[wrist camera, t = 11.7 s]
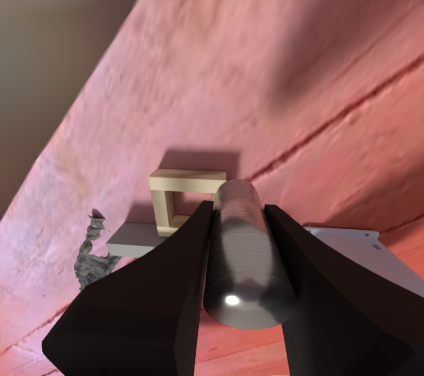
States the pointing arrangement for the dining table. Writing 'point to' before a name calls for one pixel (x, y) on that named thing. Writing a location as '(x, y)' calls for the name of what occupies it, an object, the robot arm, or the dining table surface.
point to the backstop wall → (134, 240)
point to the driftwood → (93, 258)
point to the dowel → (245, 263)
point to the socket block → (179, 181)
